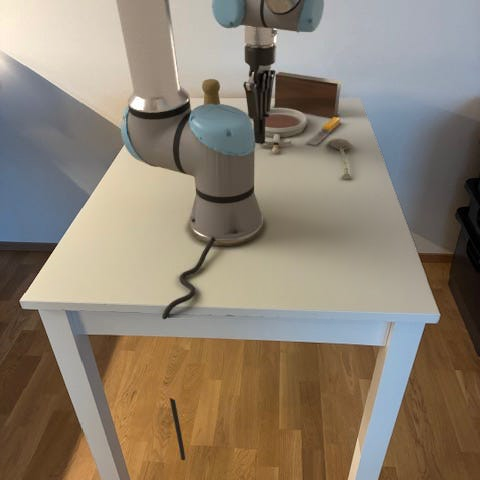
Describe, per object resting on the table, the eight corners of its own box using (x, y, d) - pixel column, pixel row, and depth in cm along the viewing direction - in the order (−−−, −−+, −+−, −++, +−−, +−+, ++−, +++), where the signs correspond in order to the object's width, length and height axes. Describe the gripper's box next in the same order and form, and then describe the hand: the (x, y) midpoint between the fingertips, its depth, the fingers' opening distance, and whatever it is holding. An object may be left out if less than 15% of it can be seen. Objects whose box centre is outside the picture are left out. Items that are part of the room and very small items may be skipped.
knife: (316, 145, 132) (317, 139, 131) (308, 144, 133) (308, 138, 132) (340, 123, 143) (340, 118, 142) (332, 122, 144) (333, 116, 143)
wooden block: (333, 118, 146) (337, 83, 140) (274, 107, 154) (275, 74, 147) (337, 115, 148) (341, 80, 142) (278, 104, 156) (279, 71, 149)
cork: (213, 113, 151) (211, 75, 143) (226, 118, 147) (225, 79, 140) (198, 118, 148) (196, 80, 140) (211, 124, 144) (209, 84, 137)
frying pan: (242, 145, 127) (251, 105, 147) (242, 156, 129) (251, 115, 149) (308, 147, 125) (308, 106, 146) (307, 157, 127) (307, 116, 148)
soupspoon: (350, 145, 133) (326, 146, 134) (351, 133, 131) (326, 133, 132) (359, 179, 116) (331, 180, 117) (360, 166, 114) (332, 167, 115)
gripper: (261, 52, 109) (260, 154, 125) (286, 39, 117) (282, 136, 133) (232, 49, 112) (235, 148, 128) (259, 36, 120) (258, 131, 136)
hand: (259, 142), depth 130 cm, fingers closed
